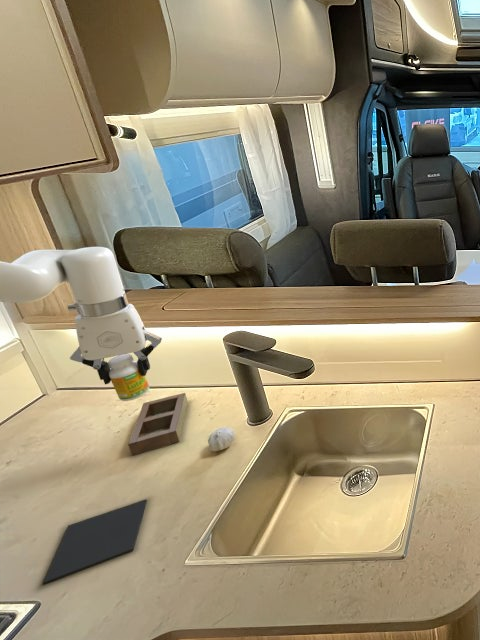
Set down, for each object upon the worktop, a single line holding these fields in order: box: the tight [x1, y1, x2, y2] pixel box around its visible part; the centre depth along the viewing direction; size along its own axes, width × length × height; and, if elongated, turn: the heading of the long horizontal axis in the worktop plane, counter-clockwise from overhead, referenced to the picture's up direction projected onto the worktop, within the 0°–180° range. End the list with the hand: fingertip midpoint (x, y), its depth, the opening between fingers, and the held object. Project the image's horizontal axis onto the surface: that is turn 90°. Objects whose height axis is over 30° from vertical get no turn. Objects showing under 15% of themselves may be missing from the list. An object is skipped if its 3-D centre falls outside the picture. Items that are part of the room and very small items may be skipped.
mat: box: [42, 498, 148, 585], centre depth 79 cm, size 12×12×1 cm
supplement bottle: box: [107, 353, 150, 402], centre depth 93 cm, size 5×5×10 cm
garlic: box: [207, 426, 236, 452], centre depth 101 cm, size 6×5×5 cm
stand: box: [128, 392, 189, 456], centre depth 106 cm, size 9×16×4 cm, turn 30°
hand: (127, 376), depth 93 cm, fingers closed on supplement bottle, 5 cm apart
